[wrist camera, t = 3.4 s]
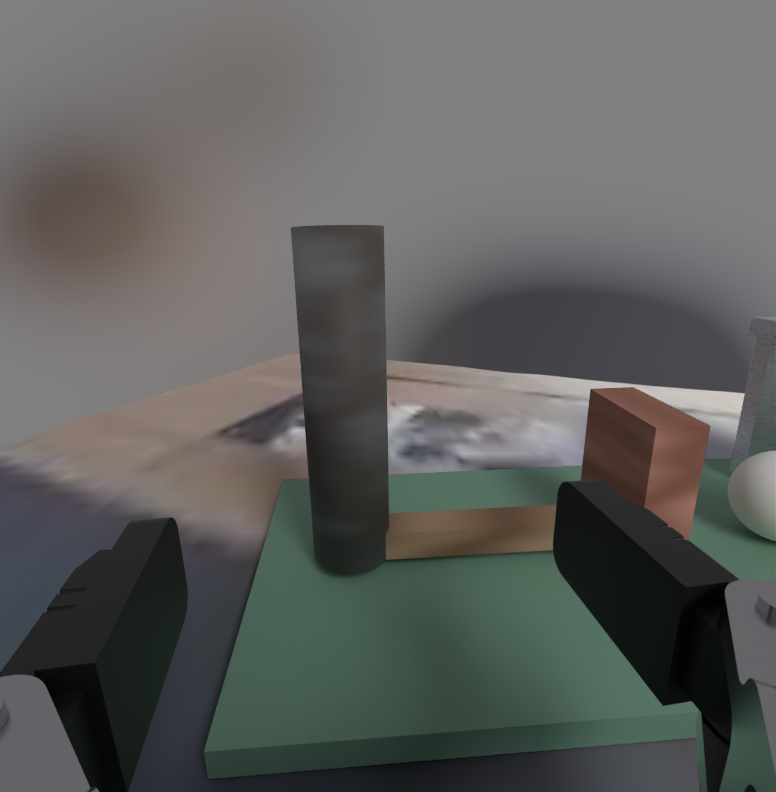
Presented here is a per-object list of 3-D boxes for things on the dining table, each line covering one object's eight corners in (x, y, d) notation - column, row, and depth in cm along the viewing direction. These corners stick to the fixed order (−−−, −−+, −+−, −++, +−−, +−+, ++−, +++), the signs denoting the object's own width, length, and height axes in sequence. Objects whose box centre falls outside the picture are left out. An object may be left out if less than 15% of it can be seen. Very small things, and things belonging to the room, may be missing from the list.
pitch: (208, 779, 13) (203, 752, 13) (284, 495, 29) (283, 479, 28) (1302, 686, 16) (1319, 661, 15) (830, 468, 31) (835, 453, 31)
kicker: (309, 592, 18) (281, 224, 15) (318, 521, 23) (298, 229, 19) (683, 568, 19) (749, 217, 15) (617, 504, 24) (655, 224, 20)
